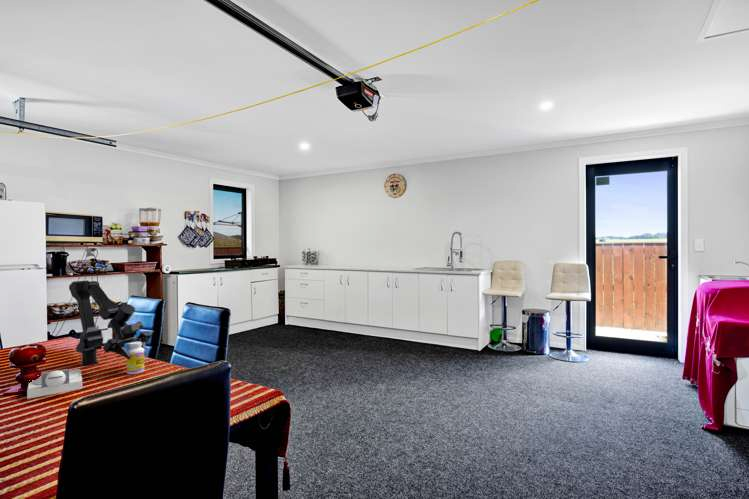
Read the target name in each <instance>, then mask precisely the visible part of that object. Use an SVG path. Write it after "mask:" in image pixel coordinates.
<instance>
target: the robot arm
mask: <svg viewBox="0 0 749 499" xmlns="http://www.w3.org/2000/svg"><path fill="white" fill-rule="evenodd" d="M68 290H69V291H70V292H69V293H70V294H71V297H72V298H74V299H75V301H76V303H77V308H78V314H79V318H80V322H81V326H82V327H81V328H82V332H81V333H80V336H79V342H78V344H77V345H76V347H75V350H76V353H80V354H81V362H80V366H81V367H84V366H91V365H99V360H98V350H101V349H103V351H104V352H105V353H110V352H111V353H115V354H117V355H120V356H122V357H124V358H125V359H126V360H127V359H130V358H131V357H130V355H129V353H128V351H127V350H128V349H127V348H126V346H125V345H127V344H128V345H129V343H131V342H142V345H141V347H142V348H144V356H146V355H147V348H146V344H148V342H149V341H150V339H151V338H152V336H153V334H152V332H151V331H149V330H148V331H142V332H140V334H139V335H138V336H136V335H137V334H138V333H137V332H139V331H141V330H142V329H143V328H144V323H143V322H142V321H140V320H139V321H136V322H135V323H131V324H127V322H129V320H130V319H131V318H132V317H133V315H134V314H135V311H136V308H135V306H133V305H131V304H128V303H127V302H121V303H120V305H119V304H117V302H115V301H112V300H111V299H110V298H109V296H108V295H107V294H106V292H105V291H104V290H103V289H102V287H101V286H100V283H99V282H98V281H96V280H94V281H93V280H91V281H90V280H78V281H75V280H74V281H72V282H71V283H70V284H69V285H68ZM90 298H92V299H93V301H94V302H95V304H96V305H97V306H98V314H99V316H100V317H101V319H102V320H103V321H107V320H110V321H108V325H107V329H112V331H113V333H114V335H113V337H114V338H110V339H108V340H107V341H106V342H105V344H104V345H103V342H104V337H103V332H102V330H101V329H98V328H97V327H96V324H95V318H94V314H93V309H92V304H91V299H90Z"/></svg>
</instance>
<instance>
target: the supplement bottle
mask: <svg viewBox="0 0 749 499" xmlns="http://www.w3.org/2000/svg"><path fill="white" fill-rule="evenodd" d="M141 345H142V342H131V343H128V347H129V348H128V349H126V350H127V351H128V353H129V355H130V357H131V358H130V359H127V358H126V374H128V375H137V374H142V373H143V372H144V371H145V355H144V348H142V347H141Z"/></svg>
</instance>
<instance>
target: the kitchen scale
mask: <svg viewBox="0 0 749 499" xmlns="http://www.w3.org/2000/svg"><path fill="white" fill-rule="evenodd" d="M40 375H41V376H40V377H39V378H38V379H36V380H32V382H30V383H29V382H28V385H27V386H28V387H27V390H26V394H27V395H26V396H27V397H26V398H27V400H28V399H33V398H35V399H36V398H39V397H44V396H51V395H55V394H61V393H66V392H72V391H78V390H81V389H83V376H82V371H81V368H76V369H70V368H64V369H59V370H52V371H47V372H46V371H45V372H41V374H40Z"/></svg>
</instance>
